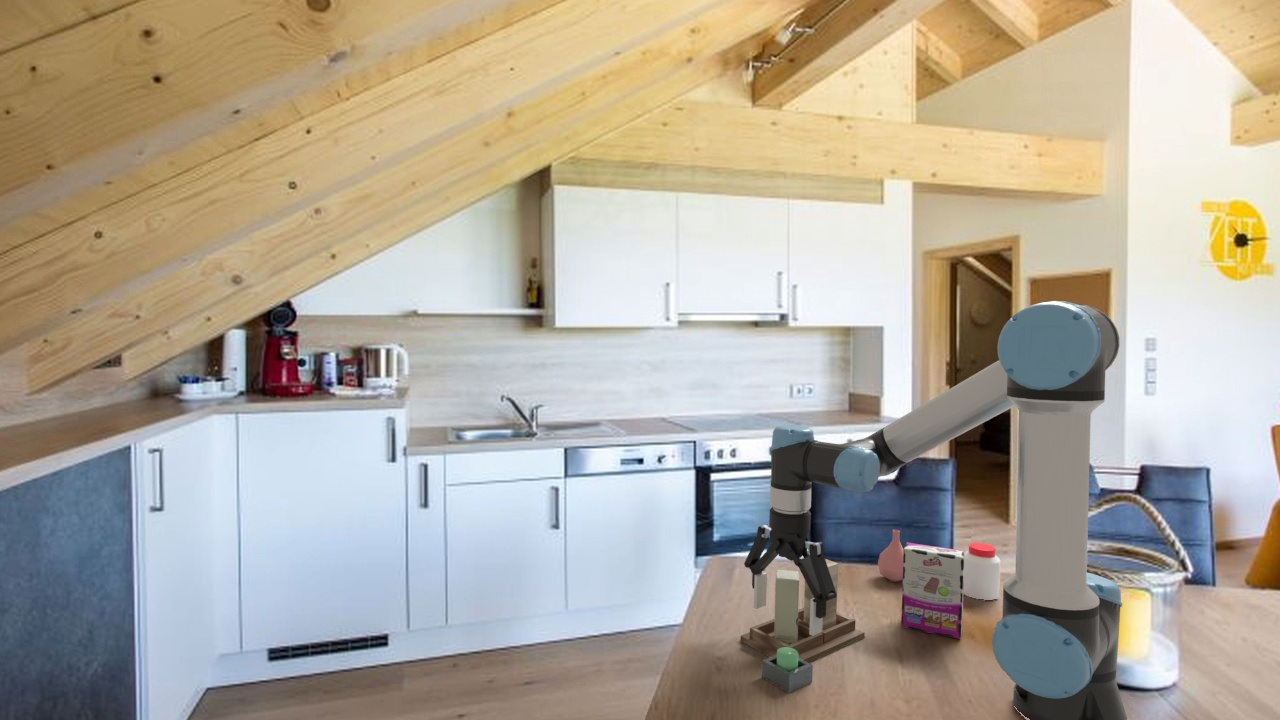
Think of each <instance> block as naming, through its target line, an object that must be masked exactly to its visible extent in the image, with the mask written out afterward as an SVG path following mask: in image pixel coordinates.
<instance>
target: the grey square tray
mask: <svg viewBox="0 0 1280 720" xmlns="http://www.w3.org/2000/svg"><path fill="white" fill-rule="evenodd" d="M813 669H814V668H813V664H811V662H809V663H808V662H806V661H804V660H802V659H800V658H799V657H798V668H797V669H795V670H792V671H790V672H788V671H786V670H784V669H782V668H780V667H779V666H777V654H776V655H774V656H772V657H769V656H768V658H765V659H763V660H761V678H762V679H763V680H766V681H767V682H769V683H770V684H772V685H774V686H776V687H778V688H779V689H781V690H782V691H784V692H785V693H788V694H790V693H792V692H794V691H796V690H798V689H800V688H801V689H802V687H805V686H808V685H809V684H811V683H813Z"/></svg>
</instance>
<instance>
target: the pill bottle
mask: <svg viewBox="0 0 1280 720" xmlns="http://www.w3.org/2000/svg"><path fill="white" fill-rule="evenodd" d="M996 550H997V549H996V547H995V546H993V545H992V544H987V543H983V542H971V543H969V544H968V550H966V551H965V560H964V593H963V595H965V596H967V597H969V598H971V597H972V599H974V598H976V599H975V600H978V599H984V600H983V601H985V600H992V599H996V598H998V597H999V598H1000V588H1001V587H1000V586H1001V585H1000V583H1001V581H1000V580H1001V566H1002V565H1001V564H1002V562H1001V558H999V557H998V556H997V555H996V554H997V553H996V552H997V551H996ZM999 598H998V599H999Z"/></svg>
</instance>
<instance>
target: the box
mask: <svg viewBox="0 0 1280 720" xmlns="http://www.w3.org/2000/svg"><path fill="white" fill-rule="evenodd" d="M775 571H776V572H775V583H774V584H775V585H774V586H775V587H774V590H775V592H774V619H775V623H774V638H775V639H777V640H779V641H781V642H783V643H785V644H787V645H790V644H793V643H795V642H798V610H799V596H800V595H799V593H800V571H797V570H796V571H795V570H786V569H776V570H775Z"/></svg>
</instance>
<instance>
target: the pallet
mask: <svg viewBox="0 0 1280 720" xmlns="http://www.w3.org/2000/svg"><path fill="white" fill-rule="evenodd" d="M825 560H826V563H827V566H828V569H829V572H830V575H831V578H832V581H833V584H834V587H835V590H836V593H837V594H838V582H839V581H838V580H839V577H838V576H839V574H838V573H839V563H837V562H835V561H832V560H830V559H827V558H825ZM819 593H820V592H819ZM803 595H804V600H803V607H802V608H798V642H795V643H793V644H790V645H787V644H785V643H783V642H781V641H779V640H777V639H775V638H774V623H775V618H772V619H771V620H767V621H765V622H762V623H760V624H757V625H755V626H753V627H752V626H751V627H749V632H746V633H745V634H742V635H740V639H739V640H740V642H741V643H743V644H745V645H747V646H749V647H751V648H753V649H755V650H756V651H758V652H760V653H761V654H763V655H766V656H768V658H769V657H772V656H774V655H776V654H777V650H778V649H779V648H782V647H789V648H793V649H795V650H796V651H797V652H798V657H799V658H800V659H802V660H804V661H806V662H808V663H811V662H813V661H816V660H818V659H820V658H823V657H824V656H827V655H829V654H832V653H834V652H836V651H838V650H840V649H842V648H845V647H847V646H849V645H851V644H853V643H855V642H858V641H860V640H862V639H864V638H865V637H866V636H865V634H866V633H865V632H864V631H862V630H860V629H858V628H856V620H855V619H853V618H852V617H848V616H847V615H844V614H842V613H840V612H837V608H838V607H837V605H838V596H837V597H836V598H834V599H831V600H828V601H827V602H826V616H825V617H823V625H822V632H821V633H819V634H816V635H814V636H812V635H810V634H809V628H810V599H812V598H814V596H813V594H812V592H811V590H810V588H809V586H808V584H807V583H806V581H805V580H804V593H803Z"/></svg>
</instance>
